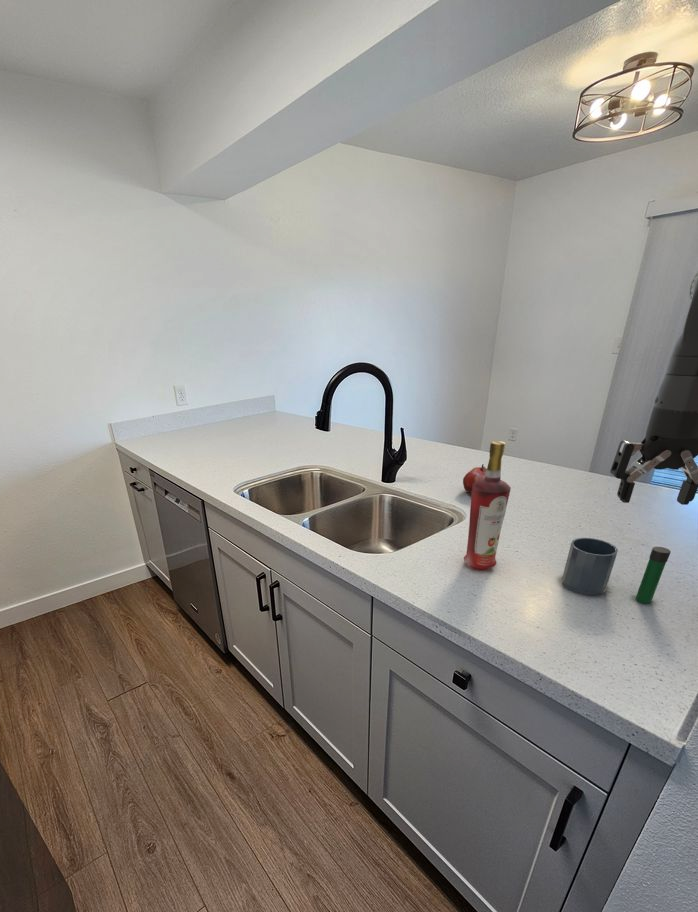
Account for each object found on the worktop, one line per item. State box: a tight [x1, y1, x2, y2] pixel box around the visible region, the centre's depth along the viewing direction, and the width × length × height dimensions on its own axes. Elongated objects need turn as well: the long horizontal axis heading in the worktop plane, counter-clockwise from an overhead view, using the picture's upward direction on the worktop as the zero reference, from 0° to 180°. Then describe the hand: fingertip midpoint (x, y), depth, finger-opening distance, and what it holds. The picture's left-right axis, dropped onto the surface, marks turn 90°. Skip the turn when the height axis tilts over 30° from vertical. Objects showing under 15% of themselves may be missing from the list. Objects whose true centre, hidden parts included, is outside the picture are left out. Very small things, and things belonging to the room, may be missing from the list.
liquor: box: [463, 440, 512, 571], centre depth 92 cm, size 7×7×28 cm
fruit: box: [462, 463, 487, 494], centre depth 135 cm, size 9×10×10 cm
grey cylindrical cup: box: [561, 537, 619, 596], centre depth 87 cm, size 8×8×9 cm
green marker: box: [635, 546, 671, 605], centre depth 81 cm, size 3×3×11 cm
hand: (652, 502), depth 74 cm, fingers open, 8 cm apart
